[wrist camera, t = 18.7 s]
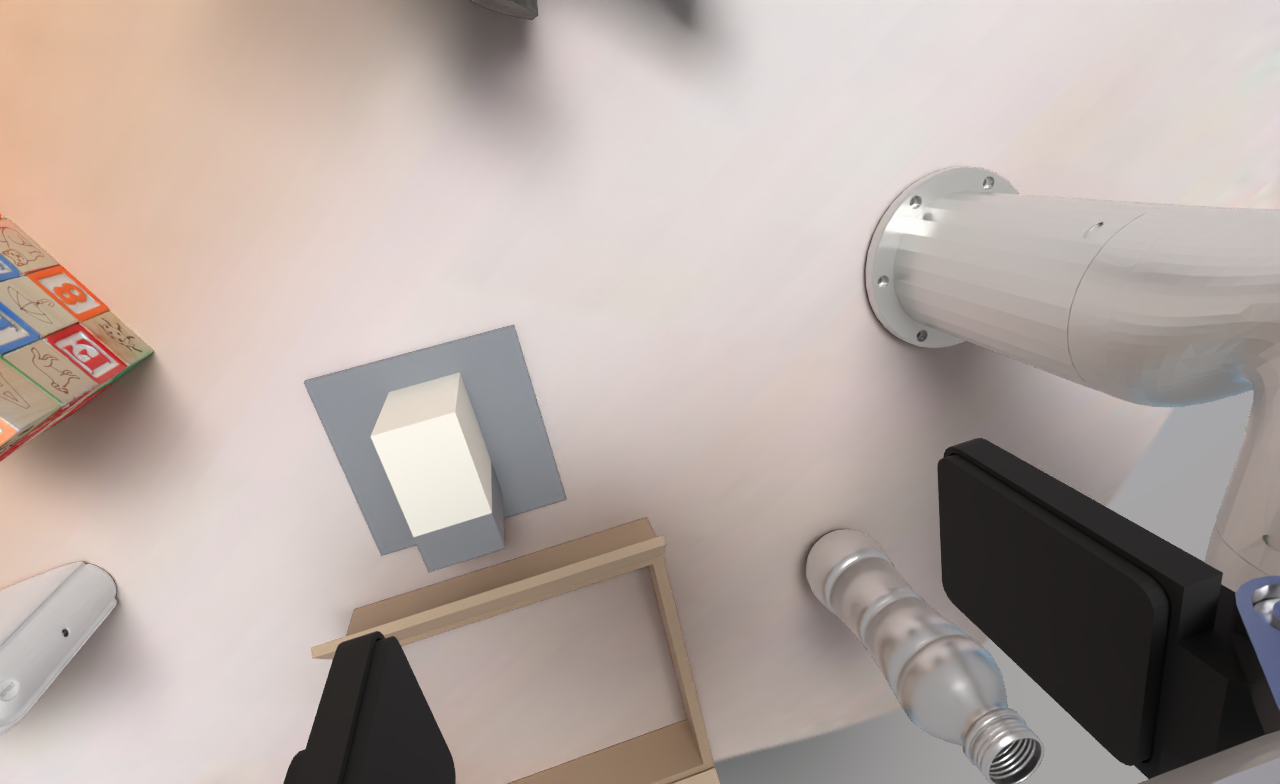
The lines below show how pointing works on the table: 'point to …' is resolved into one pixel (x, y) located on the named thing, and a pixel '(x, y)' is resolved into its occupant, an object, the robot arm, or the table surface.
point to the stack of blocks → (52, 341)
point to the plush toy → (512, 7)
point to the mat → (497, 404)
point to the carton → (616, 776)
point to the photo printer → (47, 631)
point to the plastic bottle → (923, 657)
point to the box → (441, 471)
